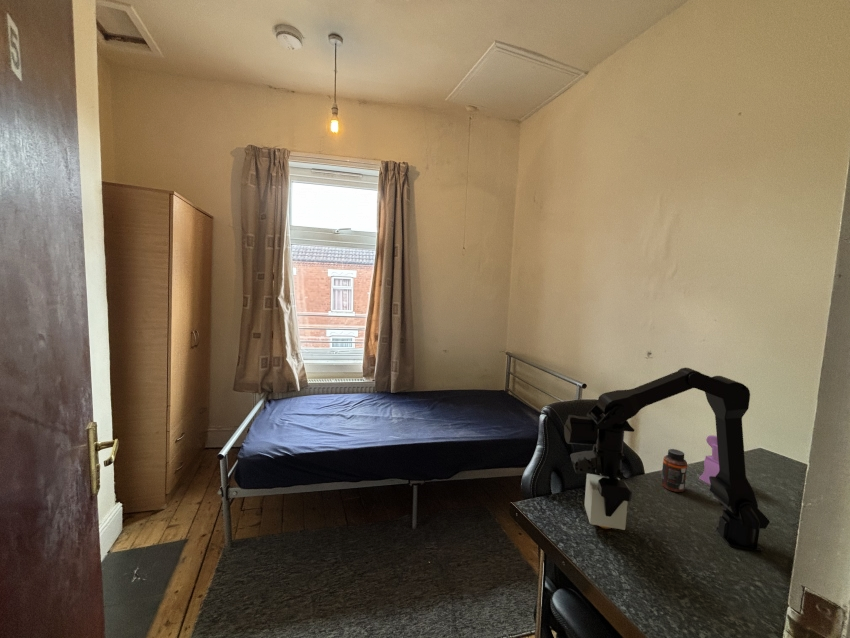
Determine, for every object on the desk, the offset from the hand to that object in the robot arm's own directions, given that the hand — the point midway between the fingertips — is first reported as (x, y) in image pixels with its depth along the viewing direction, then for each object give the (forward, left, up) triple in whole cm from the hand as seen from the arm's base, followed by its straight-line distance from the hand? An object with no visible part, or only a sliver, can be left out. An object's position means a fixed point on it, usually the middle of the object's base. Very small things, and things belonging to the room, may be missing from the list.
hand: (604, 506), depth 91 cm
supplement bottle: (-25, -26, -6) cm, 36 cm away
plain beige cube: (0, 0, -3) cm, 3 cm away
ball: (0, 0, -3) cm, 3 cm away
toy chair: (-41, -34, -6) cm, 53 cm away
